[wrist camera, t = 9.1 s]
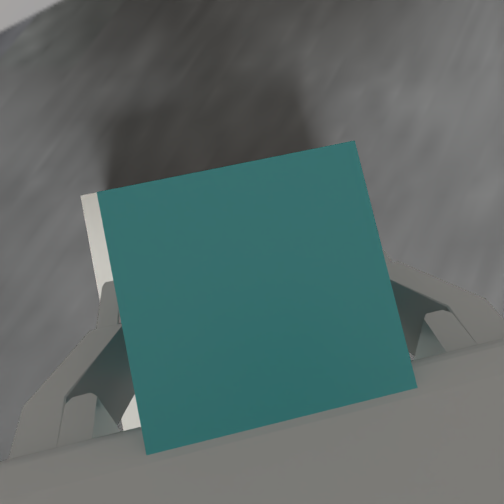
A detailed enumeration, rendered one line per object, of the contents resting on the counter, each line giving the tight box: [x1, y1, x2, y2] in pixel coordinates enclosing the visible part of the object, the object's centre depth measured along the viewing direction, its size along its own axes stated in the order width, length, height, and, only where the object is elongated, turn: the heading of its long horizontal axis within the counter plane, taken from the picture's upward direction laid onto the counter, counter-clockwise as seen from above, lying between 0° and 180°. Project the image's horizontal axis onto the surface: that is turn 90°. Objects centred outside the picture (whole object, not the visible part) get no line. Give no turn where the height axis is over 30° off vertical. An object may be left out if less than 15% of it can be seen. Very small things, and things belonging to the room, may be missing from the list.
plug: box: [97, 141, 418, 455], centre depth 11 cm, size 4×4×11 cm
